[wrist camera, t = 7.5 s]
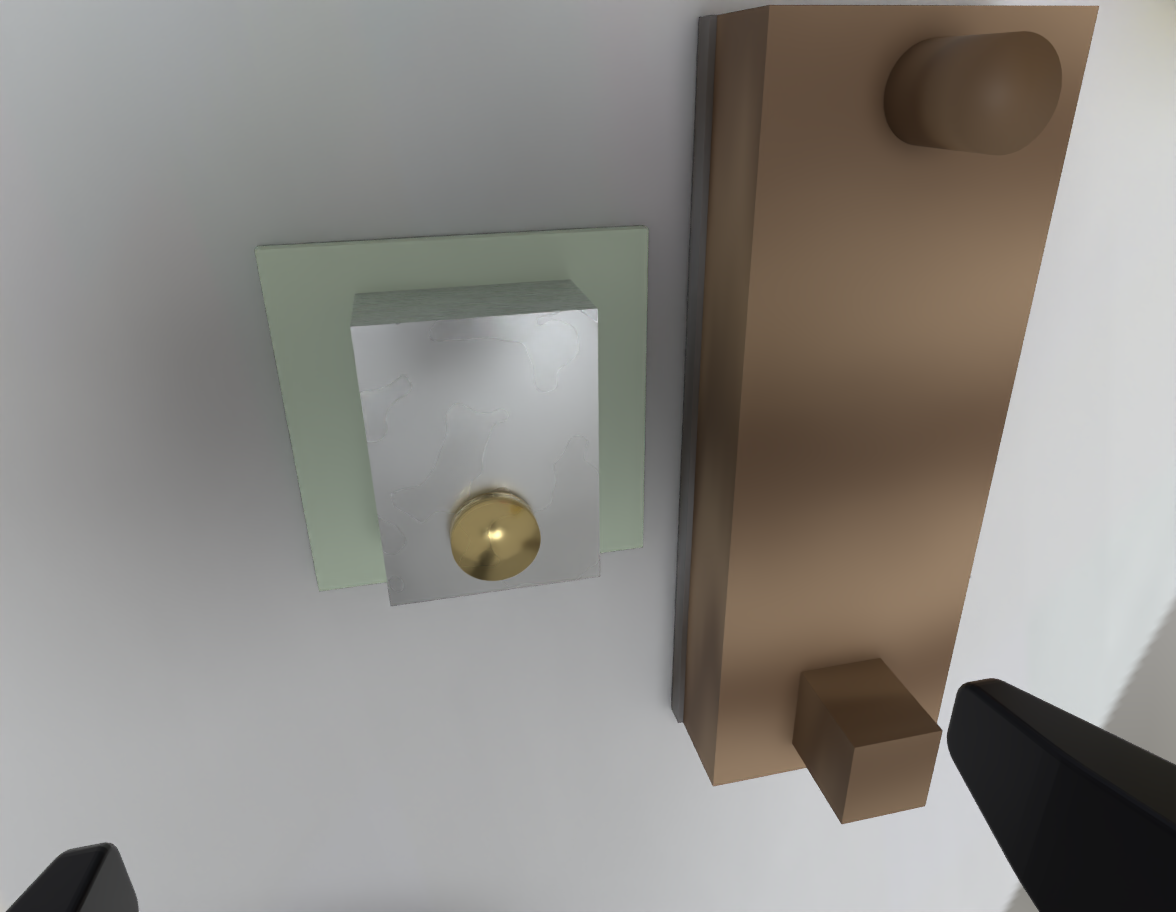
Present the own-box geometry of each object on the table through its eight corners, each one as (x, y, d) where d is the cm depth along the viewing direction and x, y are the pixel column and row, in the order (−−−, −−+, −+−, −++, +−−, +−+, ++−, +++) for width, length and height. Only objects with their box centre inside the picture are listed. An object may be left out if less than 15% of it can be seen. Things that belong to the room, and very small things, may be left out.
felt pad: (638, 539, 21) (642, 547, 21) (320, 582, 19) (318, 591, 19) (643, 225, 18) (648, 228, 17) (256, 246, 16) (254, 250, 16)
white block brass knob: (575, 521, 20) (605, 589, 17) (390, 544, 19) (390, 620, 16) (570, 279, 17) (604, 315, 15) (355, 293, 16) (349, 334, 14)
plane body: (879, 671, 25) (1000, 816, 20) (671, 708, 24) (746, 873, 19) (996, 17, 17) (1239, -8, 12) (698, 17, 16) (839, -11, 11)
